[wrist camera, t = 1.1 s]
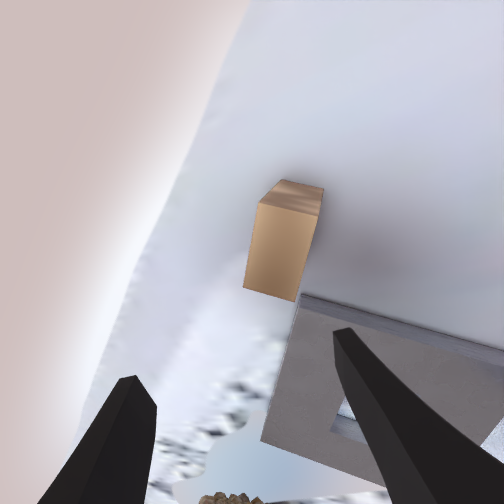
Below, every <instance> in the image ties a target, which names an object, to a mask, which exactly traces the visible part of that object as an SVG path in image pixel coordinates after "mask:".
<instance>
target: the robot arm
mask: <svg viewBox="0 0 504 504" xmlns="http://www.w3.org/2000/svg"><path fill="white" fill-rule="evenodd" d="M333 344H334V358H335V368H336V370H337V373H338V376H339V379H340V382H341V385H342V388H343V391H344V393H345V396H346V398H347V400H348V402H349V405H350V407H351V409H352V411H353V413H354V415H355V418H356V420H357V422H358V424H359V426H360V428H361V431H362V433H363V435H364V437H365V439H366V441H367V443H368V446H369V448H370V450H371V452H372V454H373V456H374V458H375V461H376V463H377V465H378V468H379V470H380V472H381V475H382V477H383V480H384V482H385V485H386V488H387V490H388V493H389V496H390V498H391V501H392V504H504V464H503V463H502V462H500V461H499V460H498V459H496V458H495V457H493V456H492V455H490V454H489V453H488V452H486V451H485V450H484V449H482V448H481V447H480V446H478V445H477V444H476V443H474V442H473V441H472V440H470V439H469V438H468V437H466V436H465V435H464V434H463V433H461V432H460V431H459V430H457V429H456V428H455V427H454V426H452V425H451V424H450V423H449V422H448V421H446V420H445V419H444V418H443V417H441V416H440V415H439V414H438V413H437V412H435V411H434V410H433V409H432V408H431V407H430V406H428V405H427V404H426V403H425V402H424V401H423V400H422V399H420V398H419V397H418V396H417V395H416V394H415V393H414V392H413V391H412V390H410V389H409V388H408V387H407V386H406V385H405V384H404V383H403V382H402V381H401V380H400V379H399V378H398V377H397V376H396V375H395V374H394V373H393V372H392V371H391V370H390V369H389V368H388V367H387V366H386V365H385V364H384V363H383V362H382V361H381V360H380V359H379V358H378V357H377V356H376V355H375V354H374V353H373V352H372V351H371V350H370V349H369V348H368V346H367V345H366V344H365V343H364V342H363V341H362V340H361V339H360V337H359V336H358V335H357V334H356V333H355V331H354V330H353V329H352V328H350V327H348V328H344V329H339V330H335V331H333ZM156 417H157V405H156V404H155V402H154V401H153V399H152V398H151V397H150V395H149V394H148V392H147V391H146V389H145V388H144V386H143V385H142V383H141V382H140V380H139V379H138V377H137V376H136V375H133V376H129V377H125V378H120V379H119V380H118V382H117V383H116V385H115V387H114V388H113V390H112V391H111V393H110V395H109V396H108V398H107V399H106V401H105V403H104V404H103V406H102V408H101V409H100V411H99V412H98V414H97V416H96V417H95V419H94V421H93V422H92V424H91V425H90V427H89V428H88V430H87V432H86V433H85V435H84V436H83V438H82V439H81V441H80V443H79V444H78V446H77V447H76V449H75V450H74V452H73V453H72V455H71V456H70V458H69V459H68V461H67V462H66V464H65V465H64V466H63V468H62V469H61V471H60V472H59V474H58V475H57V477H56V478H55V480H54V481H53V483H52V484H51V485H50V487H49V488H48V490H47V491H46V492H45V494H44V495H43V496H42V498H41V499H40V500H39V502H38V503H37V504H144V500H145V495H146V489H147V483H148V477H149V472H150V466H151V460H152V454H153V448H154V442H155V434H156Z"/></svg>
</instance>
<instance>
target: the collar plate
mask: <svg viewBox="0 0 504 504" xmlns="http://www.w3.org/2000/svg"><path fill="white" fill-rule="evenodd" d="M348 327H350V328H352V329H353V330H354V331H355V333H356V334H357V335H358V336H359V337H360V339H361V340H362V341H363V342H364V343H365V344H366V345H367V346H368V348H369V349H370V350H371V351H372V352H373V353H374V354H375V355H376V356H377V357H378V358H379V359H380V360H381V361H382V362H383V363H384V364H385V365H386V366H387V367H388V368H389V369H390V370H391V371H392V372H393V373H394V374H395V375H396V376H397V377H398V378H399V379H400V380H401V381H402V382H403V383H404V384H405V385H406V386H407V387H408V388H409V389H410V390H412V391H413V392H414V393H415V394H416V395H417V396H418V397H419V398H420V399H422V400H423V401H424V402H425V403H426V404H427V405H428V406H430V407H431V408H432V409H433V410H434V411H435V412H437V413H438V414H439V415H440V416H441V417H443V418H444V419H445V420H446V421H448V422H449V423H450V424H451V425H452V426H454V427H455V428H456V429H457V430H459V431H460V432H461V433H463V434H464V435H465V436H466V437H468V438H469V439H470V440H472V441H473V442H474V443H476V444H477V445H478V446H480V445H481V444H482V443H483V442H484V440H485V439H486V438H487V437H488V435H489V434H490V433H491V432H492V430H493V429H494V428H495V427H496V425H497V424H498V423H499V422H500V420H501V419H502V418H503V417H504V351H502V350H498V349H495V348H491V347H487V346H484V345H480V344H477V343H473V342H470V341H466V340H463V339H459V338H456V337H452V336H448V335H445V334H441V333H438V332H434V331H431V330H427V329H424V328H420V327H417V326H413V325H409V324H406V323H402V322H399V321H395V320H392V319H388V318H385V317H381V316H378V315H374V314H370V313H367V312H363V311H360V310H356V309H353V308H349V307H346V306H342V305H339V304H335V303H331V302H328V301H324V300H321V299H317V298H314V297H310V296H307V295H303V294H301V297H300V300H299V304H298V307H297V311H296V314H295V318H294V321H293V325H292V328H291V332H290V335H289V339H288V342H287V346H286V349H285V353H284V356H283V360H282V363H281V367H280V370H279V374H278V377H277V381H276V384H275V388H274V391H273V395H272V398H271V402H270V405H269V409H268V412H267V416H266V419H265V423H264V427H263V431H262V435H261V440H260V441H262V442H264V443H267V444H270V445H272V446H275V447H278V448H281V449H283V450H286V451H289V452H291V453H294V454H297V455H299V456H302V457H305V458H308V459H310V460H313V461H316V462H318V463H321V464H324V465H327V466H329V467H332V468H335V469H337V470H340V471H343V472H346V473H348V474H351V475H354V476H357V477H359V478H362V479H364V480H367V481H370V482H373V483H375V484H378V485H381V486H383V487H386V485H385V482H384V480H383V477H382V475H381V472H380V470H379V468H378V465H377V463H376V461H375V458H374V456H373V454H372V452H371V450H370V448H369V446H368V443H367V441H366V439H365V437H364V435H363V433H362V431H361V428H360V426H359V424H358V422H357V421H355V420H352V419H349V418H346V417H343V416H340V415H337V413H338V410H339V408H340V406H341V404H342V401H343V399H344V397H345V393H344V391H343V388H342V385H341V382H340V379H339V376H338V373H337V370H336V368H335V358H334V344H333V331H335V330H339V329H344V328H348Z"/></svg>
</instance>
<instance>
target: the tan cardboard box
mask: <svg viewBox="0 0 504 504" xmlns="http://www.w3.org/2000/svg"><path fill="white" fill-rule="evenodd" d="M323 190H324V189H322V188H317V187H313V186H308V185H304V184H299V183H295V182H290V181H286V180H280V181H279V182H278V183H277V184H276V185H275V186H274V187H273V188H272V189H271V190H270V191H269V192H268V193H267V194H266V195H265V196H264V197H263V198H262V199H261V200H260V201H259V202H258V207H257V213H256V218H255V224H254V229H253V234H252V240H251V245H250V251H249V256H248V262H247V267H246V272H245V278H244V283H243V288H247V289H250V290H254V291H257V292H260V293H264V294H267V295H271V296H274V297H278V298H281V299H285V300H288V301H292V302H295V299H296V295H297V292H298V288H299V285H300V281H301V278H302V274H303V270H304V267H305V263H306V260H307V256H308V252H309V249H310V245H311V242H312V238H313V234H314V231H315V227H316V224H317V220H318V216H319V211H320V206H321V201H322V195H323Z"/></svg>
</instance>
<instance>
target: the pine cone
mask: <svg viewBox="0 0 504 504" xmlns="http://www.w3.org/2000/svg"><path fill="white" fill-rule="evenodd" d="M199 504H264V503H263V502H262V501H261V500H260V499H259V498H258V497H256V498H255V499H253V500H252V501H251V503H250V501H249V498H248V497H247V496H246V494H245V493H242V494H241V495H239V496H236V495H234V494H231V495H230V497H229V499H228V498H226V495H225V494H224V493H222V492H216V494H215V495H214V496H208V495H205V496H203V497H202V498H201V499H200V501H199ZM265 504H268V503H265Z"/></svg>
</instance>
